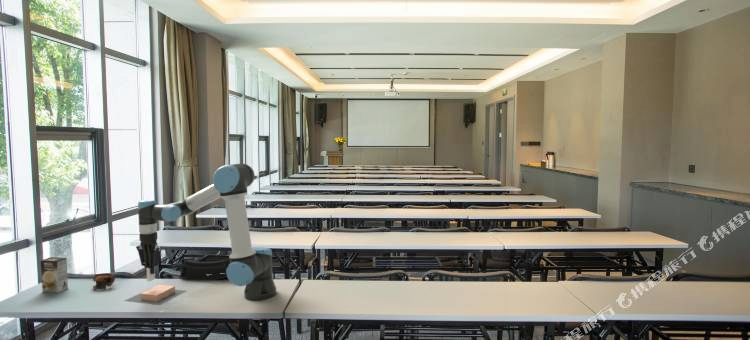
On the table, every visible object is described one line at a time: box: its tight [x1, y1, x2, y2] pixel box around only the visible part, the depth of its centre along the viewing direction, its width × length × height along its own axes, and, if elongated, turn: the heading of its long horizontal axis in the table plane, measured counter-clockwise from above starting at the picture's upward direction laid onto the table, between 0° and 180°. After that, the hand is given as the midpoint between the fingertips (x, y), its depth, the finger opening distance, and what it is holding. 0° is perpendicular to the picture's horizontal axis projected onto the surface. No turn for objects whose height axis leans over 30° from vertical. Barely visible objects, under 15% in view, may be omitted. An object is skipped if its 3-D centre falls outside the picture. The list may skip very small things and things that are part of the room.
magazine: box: [179, 258, 230, 281], centre depth 227 cm, size 17×3×30 cm
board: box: [140, 284, 176, 302], centre depth 202 cm, size 3×12×9 cm
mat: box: [124, 288, 187, 306], centre depth 202 cm, size 20×18×1 cm
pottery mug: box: [92, 272, 116, 291], centre depth 215 cm, size 12×9×8 cm
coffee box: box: [40, 256, 69, 294], centre depth 210 cm, size 9×6×16 cm
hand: (150, 280), depth 202 cm, fingers closed
